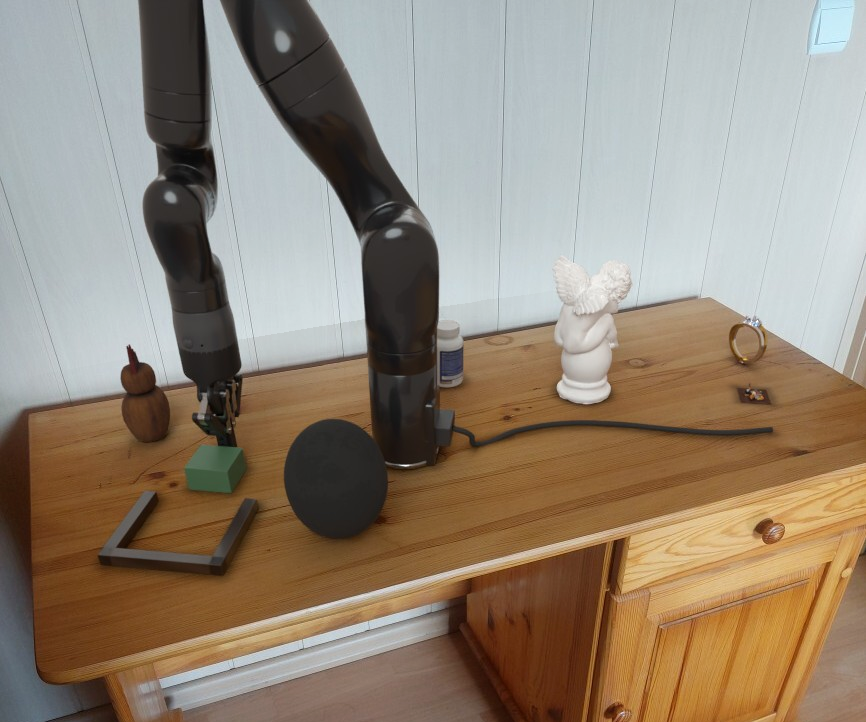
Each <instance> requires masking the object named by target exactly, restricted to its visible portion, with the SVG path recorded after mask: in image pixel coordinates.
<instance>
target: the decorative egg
mask: <svg viewBox="0 0 866 722" xmlns="http://www.w3.org/2000/svg"><path fill="white" fill-rule="evenodd" d="M283 484H284V485H283V486H284V491H285V494H286V498H287V501H288V503H289V506H290V508H291V509H292V511H293V513H294V514H295V516H296V517H297V519H298V520H299V521H300V522H301V523H302V525H304V526H305V527H306V528H307V529H309V530H310V531H312V533H313V532H314V533H315V534H317V535H319V536H321V537H324V538H326V539H327V538H328V539H331V540H344V539H349V538H350V539H351V538H354V537H356V536H358V535H360V534H362V533H364V532H365V531H366V530H368V529H369V528H370V527H371V526H372V525H373V524H374V523H375V522H376V521H377V519H378V518H379V516H380V514H381V513H382V511H383V509H384V506H385V503H386V500H387V496H388V489H389V473H388V467H386V463H385V460H384V457H383V454H382V452H381V450H380V448H379V447H378V445H377V443H376V442H375V441H374V439H373V438H372V435H371V434H370V433H368V432H367V431H366V430H365V429H364V428H362V427H361V426H360V425H358V424H356V423H354V422H352V421H349V420H346V419H341V418H326V419H321V420H318V421H316V422H313V423H312V424H309V425H308V426H307V427H305V428H304V429H302V431H300V433H299V434H297V436H296V437H295V438H294V440H293V442H292V443H291V444H290V447H289V449H288V452H287V454H286V458H285V461H284V467H283Z"/></svg>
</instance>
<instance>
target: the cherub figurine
mask: <svg viewBox="0 0 866 722" xmlns="http://www.w3.org/2000/svg"><path fill="white" fill-rule="evenodd" d="M554 264H555V265H554V266H553V267H552V271H553V272H554V273H553V277H554V278H555V279H554V282H555V283H556V286H555V290H556V294H557V295H558V299H559V300H561V302H563V304H562V305H561V308H560V312H559V316H558V319H557V322H556V324H555V326H554V331H553V332H554V334H553V341H554V343H555V345H556V346H557V347H558V348H563V349H562V352H561V356H560V364H561V365H560V366H561V369H562V372H563V373H562V375H561V379H560V380H559V381H558V383H557V385H556V391H557V393H558V395H559V397H560V398H561V399H563V400H567V401H570V402H572V403H575V404H582V405H591V404H595V403H601V402H602V401H604V400H606V399H607V398H609V396H610V394H611V391H612V387H611V384H610V383H609V382H608V375H607V374H608V372H609V371H610V368H611V365H612V362H613V351H612V350H613V349H618V348H619V347H620V345H619V340H618V332H617V331H618V330H617V328H616V327H617V326H616V325H615V319H614V316H613V314H618V312H619V304H621V303H622V301H623V300H625V299H626V298H627V297H628V294H629V293H630V292H631V288H632V287H633V281H632V278H631V269H630V267H629V266H628V265H627V264H626V263H624V262H621V261H619V260H616V259H613V260H609V261H606V262H605V263H602V266H601V268H599V269H598V272H597V274H594V275H589V273H588V271H587V270H586V269H585V268H584V267H582V266H581V265H580V264H578V263H576V262H572V261H571V260H569V259H568V258H566V256H564V255H562V254H560V256H558V259H557V260H554Z"/></svg>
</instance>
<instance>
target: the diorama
mask: <svg viewBox="0 0 866 722" xmlns="http://www.w3.org/2000/svg"><path fill="white" fill-rule="evenodd" d="M751 385H752V383H751V382H748V385H747V388H745V387H736V388H737V393H738V397H739V400H740V403H745V404H758V405H772V402H771V399H770V397H769V394H768V390H767V389H765V388H764V389H761V388H752V387H751Z"/></svg>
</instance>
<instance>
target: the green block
mask: <svg viewBox="0 0 866 722" xmlns="http://www.w3.org/2000/svg"><path fill="white" fill-rule="evenodd" d="M245 459H246V458H245V454H244V449H243V447H238V446H237V447H226V446H218V445H212V444H200V445H199V447H198V448H197V450H196V451H195V452H194V453H193V455H192V456H191V457H190V458H189V460H188V462H187V463H186V465H185V466H184V467H183V469H184V474H185V477H186V482H187V486H188V490H190V491H200V492H201V491H202V492H212V493H213V492H214V493H224V494H232V493H233V491H234V490H235V488H236V486H237V485H238V484H239V482H240V480H241V478H242V477H243V476H244V474H245V472H246V471H247V466H246V465H247V464H246V460H245Z"/></svg>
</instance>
